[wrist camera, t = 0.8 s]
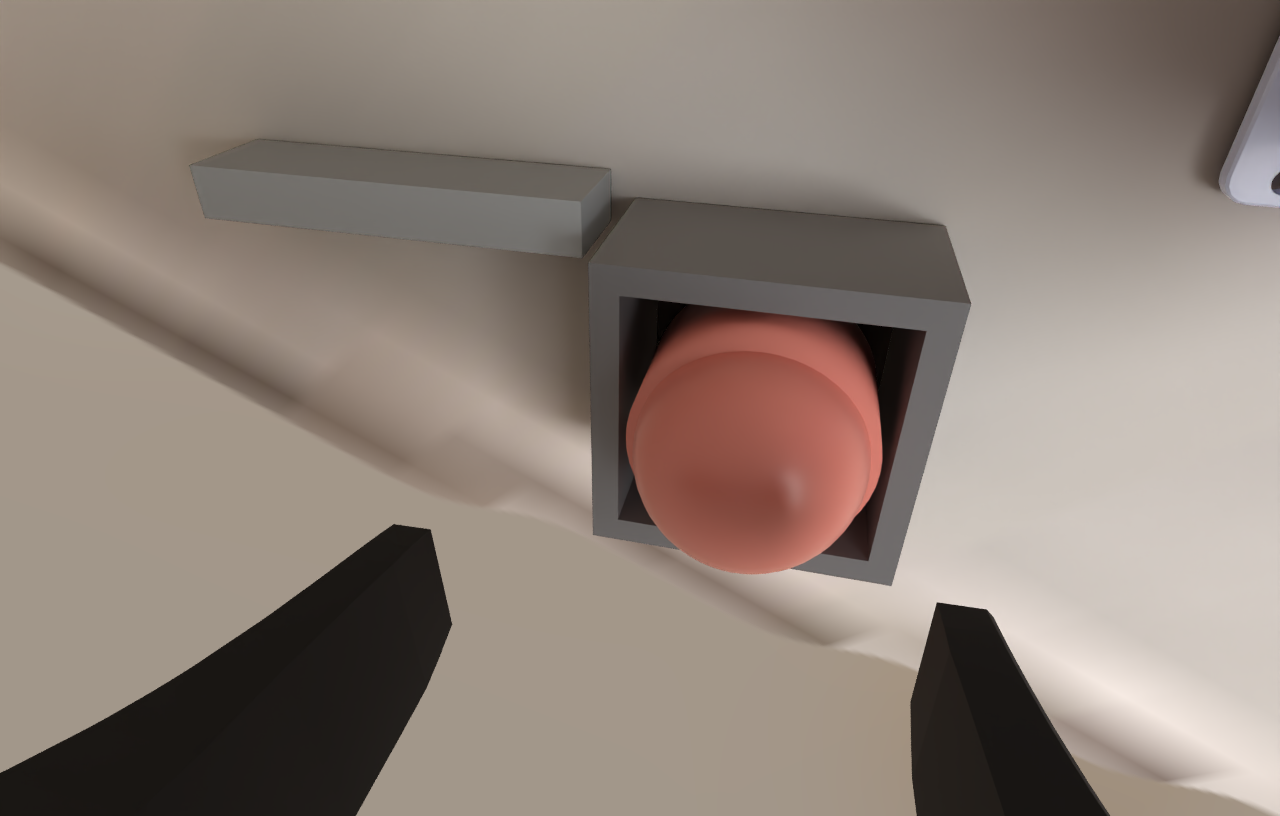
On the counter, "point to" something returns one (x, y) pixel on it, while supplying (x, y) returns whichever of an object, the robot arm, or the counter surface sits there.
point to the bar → (408, 196)
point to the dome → (756, 436)
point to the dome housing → (789, 285)
